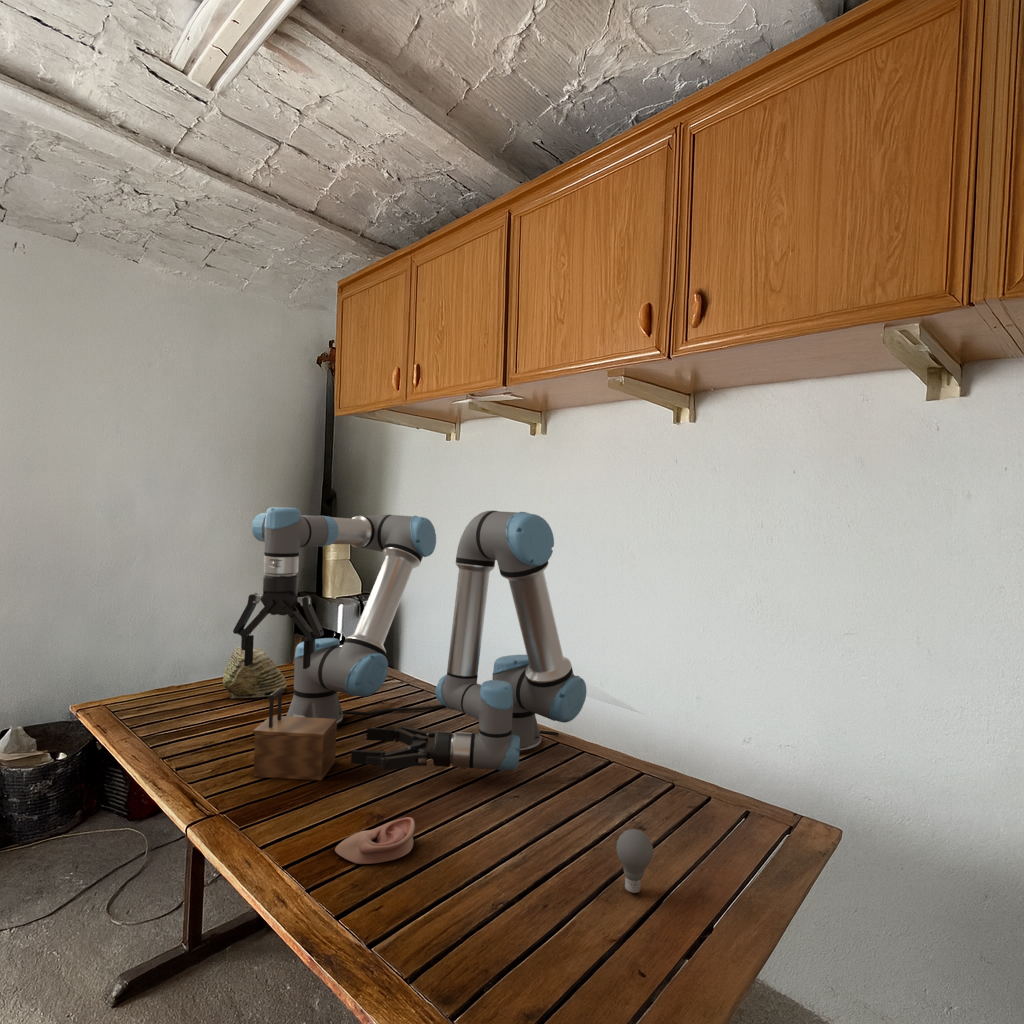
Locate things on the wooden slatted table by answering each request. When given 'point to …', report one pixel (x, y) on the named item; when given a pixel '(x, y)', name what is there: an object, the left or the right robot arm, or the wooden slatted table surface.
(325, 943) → the wooden slatted table surface
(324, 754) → the chest
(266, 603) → the left robot arm
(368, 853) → the anatomical model
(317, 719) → the lid
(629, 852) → the light bulb
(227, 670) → the fossil
